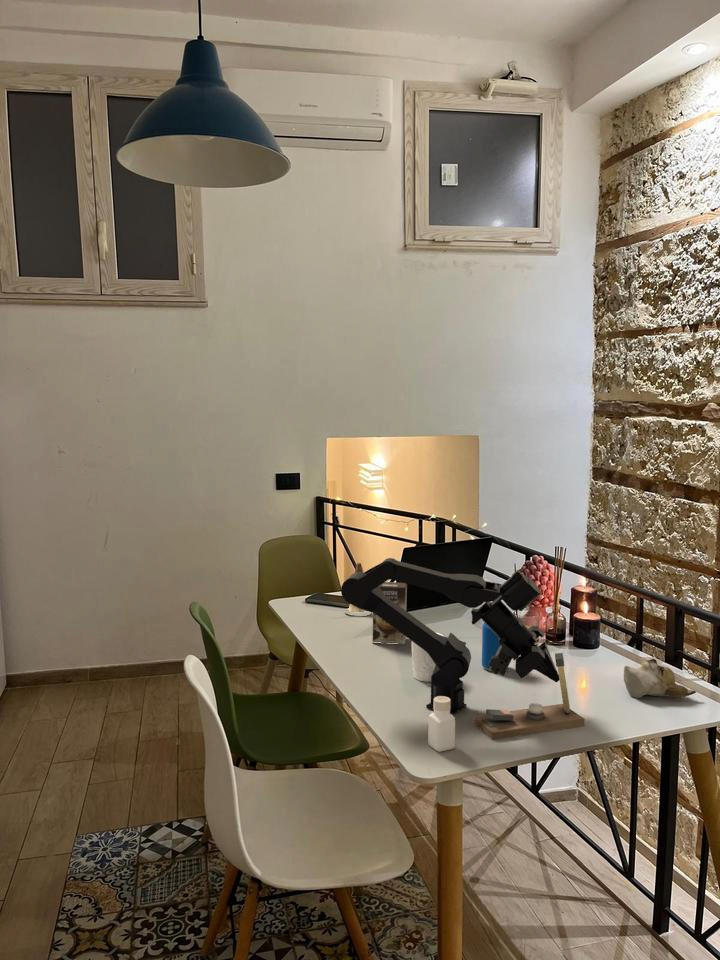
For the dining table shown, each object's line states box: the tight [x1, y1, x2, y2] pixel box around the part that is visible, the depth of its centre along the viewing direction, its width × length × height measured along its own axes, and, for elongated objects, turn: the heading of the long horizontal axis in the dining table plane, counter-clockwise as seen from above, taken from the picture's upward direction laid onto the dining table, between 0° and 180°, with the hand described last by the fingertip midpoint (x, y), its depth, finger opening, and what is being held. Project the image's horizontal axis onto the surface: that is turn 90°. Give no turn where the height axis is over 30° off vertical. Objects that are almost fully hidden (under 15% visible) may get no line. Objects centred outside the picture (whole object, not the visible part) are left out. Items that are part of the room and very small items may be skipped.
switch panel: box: [473, 703, 586, 741], centre depth 152 cm, size 8×21×2 cm, turn 108°
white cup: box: [410, 631, 444, 683], centre depth 178 cm, size 8×8×10 cm
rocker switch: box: [484, 708, 514, 720], centre depth 149 cm, size 3×5×1 cm, turn 108°
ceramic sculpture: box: [623, 658, 697, 699], centre depth 167 cm, size 11×9×15 cm
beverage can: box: [481, 622, 500, 672], centre depth 184 cm, size 6×6×12 cm
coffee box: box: [371, 581, 408, 644], centre depth 205 cm, size 9×6×16 cm
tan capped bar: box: [554, 652, 571, 715], centre depth 154 cm, size 2×4×12 cm, turn 168°
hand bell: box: [347, 562, 365, 612], centre depth 232 cm, size 8×8×16 cm
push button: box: [528, 702, 543, 714], centre depth 152 cm, size 3×3×1 cm
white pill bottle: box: [427, 696, 456, 753], centre depth 141 cm, size 4×4×10 cm
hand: (558, 680), depth 154 cm, fingers closed, pressing on tan capped bar
